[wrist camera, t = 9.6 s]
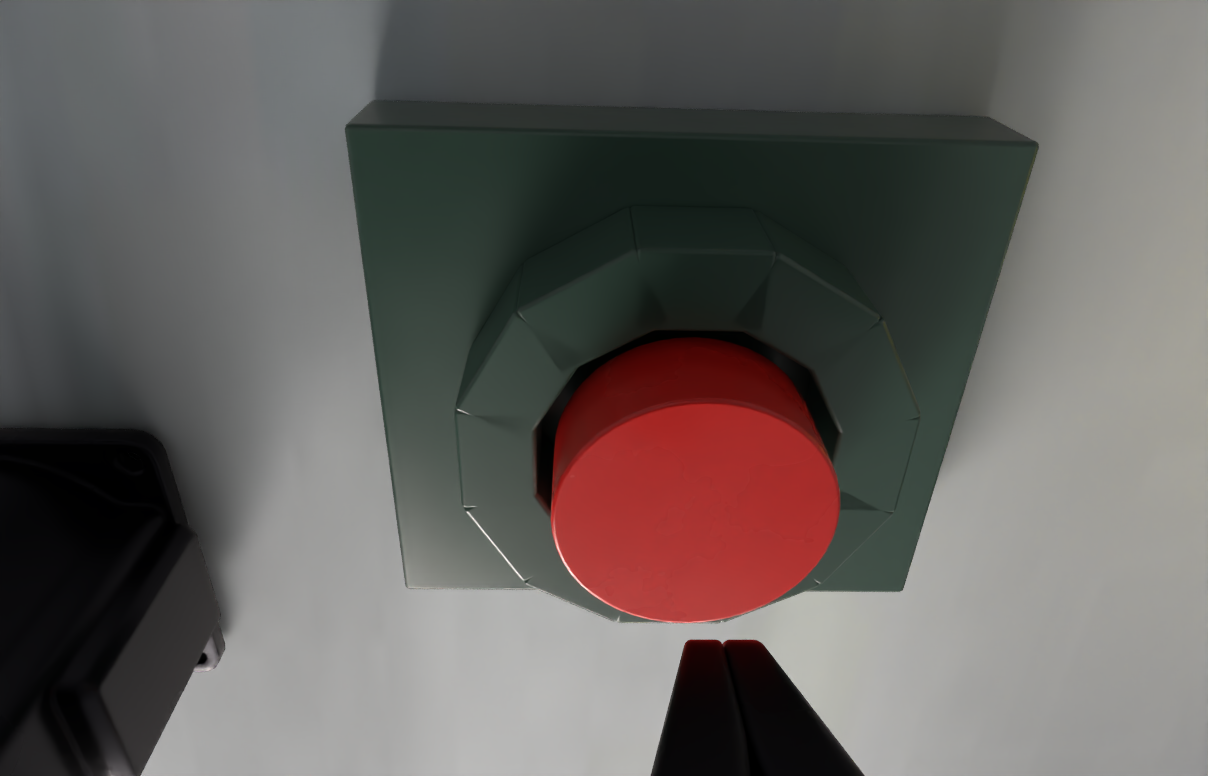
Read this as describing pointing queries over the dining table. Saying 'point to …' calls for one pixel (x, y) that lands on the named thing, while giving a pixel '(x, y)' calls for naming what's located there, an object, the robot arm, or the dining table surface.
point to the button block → (668, 301)
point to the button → (690, 482)
